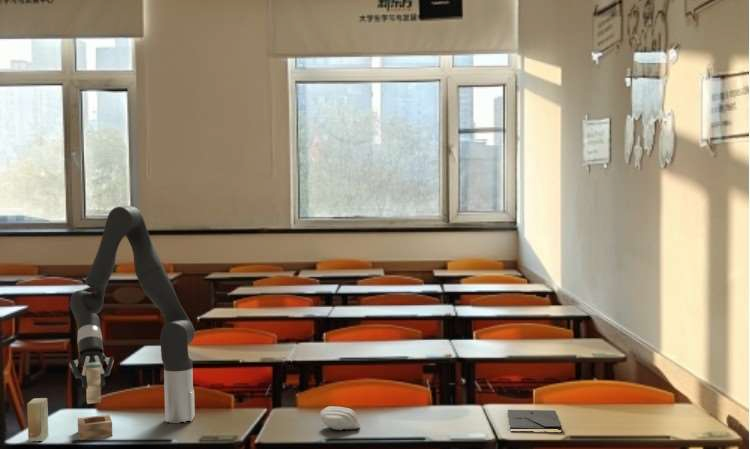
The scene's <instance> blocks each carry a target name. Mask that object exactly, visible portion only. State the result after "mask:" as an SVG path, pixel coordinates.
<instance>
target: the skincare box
mask: <svg viewBox="0 0 750 449" xmlns="http://www.w3.org/2000/svg"><path fill="white" fill-rule="evenodd" d="M26 405H27V406H26V407H27V409H26V410H27V436H28V437H27V438H28V439H27V440H28V441H43V442H44V441H45V440H46V439H47V438H48V437H49V434H50V433H49V411H48V410H49V409H48V407H49V406H48V405H49V404H48V398H47V397H39V398H37V397H36V398H32V399H31V400H30V401H29V402H27V404H26Z"/></svg>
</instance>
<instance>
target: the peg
mask: <svg viewBox="0 0 750 449" xmlns="http://www.w3.org/2000/svg"><path fill="white" fill-rule="evenodd" d="M86 376H87V389H85V390H86V394H85V395H86V398H85V399H86V404H87V405H89V404H96V403H97V404H98V403H100V404H101V403H102V388H101V387H100V382H101V378H100V362H89V363H86Z"/></svg>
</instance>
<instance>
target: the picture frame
mask: <svg viewBox="0 0 750 449" xmlns="http://www.w3.org/2000/svg"><path fill="white" fill-rule="evenodd" d="M507 418H509V420H508V426H509V425H510V428H509V430H510V429H558V430H562V431H563V429H562V427H563V426H562V423H561V421H560V420H559V417H558V414H557V411H556V410H550V409H549V410H548V409H545V410H544V409H541V410H540V409H539V410H538V409H507Z"/></svg>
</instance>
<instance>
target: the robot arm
mask: <svg viewBox="0 0 750 449" xmlns="http://www.w3.org/2000/svg"><path fill="white" fill-rule="evenodd" d="M124 237H126V238H127V240H128V242H129V244H130V247H131V250H132V255H133V267H134V274H135V276H136V278H137V280H138V282H139V285H140V287H141V288H142V291H143V292H144V294H145V295H146V296H147V298H149V300H150V301H151V302H152V303H153V304H154V305H155V306H156V308H158V310H159V311H160V313H161V316H162V318H163V319H164V322H165V325H164V326H163V327H162V329H161V332H160V337H159V338H160V339H159V340H160V354H161V361H162V364H163V378H164V380H163V381H164V382H163V384H164V387H163V388H164V420H165V423H168V422H169V423H168V424H181V423H180V422H184V423H187V422H186V421H190V422H193V421H192V420H194V419H195V417H196V414H195V412H196V411H195V410H196V408H195V406H196V405H195V389H194V385H193V383H194V380H193V379H194V378H193V377H194V376H193V374H194V372H193V359H192V358H190V356H189V346H188V345H190V344H191V343H192V342H193V341H194V338H195V334H196V332H195V327H194V325H193V323H192V321H191V320H190V318H189V316H188V315H187V313H186V312H185V310H184V308H183V306H182V305H181V302H180V301H179V299H178V295H177V294H176V291H175V289H174V286H173V285H172V282H171V281H170V280H171V279H170V278H169V276H168V274H167V272H166V269H165V267H164V264H163V263H162V260H161V259H160V256H159V254H158V252H157V250H156V248H155V246H154V244H153V242H152V239H151V236H150V234H149V231H148V228H147V225H146V222H145V219H144V216H143V214H142V212H141V211H140V209H138V208H136V207H135V206H133V205H132V206H131V205H124V206H121V205H120V206H117V207H114V208H112V209H111V210H110V211H109V213H108V215H107V218H106V222H105V225H104V229H103V233H102V236H101V240H100V243H99V245H98V246H99V247H98V250H97V253H96V255H95V258H94V259H93V262H92V264H91V266H90V268H89V271H88V272H87V275H86V277H85V285H87V286H88V287H89V288H90V289H93V290H94V292H89V291H85V290H76V291H74V292H73V293H72V294H71V296H70V300H69V307H70V309H71V312H72V315H73V317H74V319H75V321H76V324H77V346H78V350H77V351H78V357H77V359H75V360H74V359H70V360H69V368H70V370H71V372H72V374H73V375H74V377H75V379H76V380H77V379H81V387H82V388H83V389H84V390H86V389H87V376H86V363H89V362H100V378H101V382H100V387H101V389H103V387H104V386H105V384H106V379H105V377H109V376H110V374H111V371H112V368H113V366H114V365H113V364H114V359H115V357H114V356H110V357H107V356H106V355H105V353H104V345H103V344H104V343H103V335H102V334H103V333H102V330H101V324H100V323H101V321H100V316H98V314H99V313H100V312H101V311H102V309H103V307H104V301H105V300H104V299H105V294H106V289H107V285H108V284H109V281H110V279H111V276H112V274H113V272H114V269H115V265H116V257H117V251H118V248H119V246H120V244H121V242H122V240H123V238H124ZM104 362H106V365H107V366H106V369H105V370H104V368H103V364H104ZM78 364H79V365H80V366H81V367H82V368H83V369H82V372H80V370H79V368H78ZM194 416H195V417H194ZM193 418H194V419H193Z"/></svg>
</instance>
